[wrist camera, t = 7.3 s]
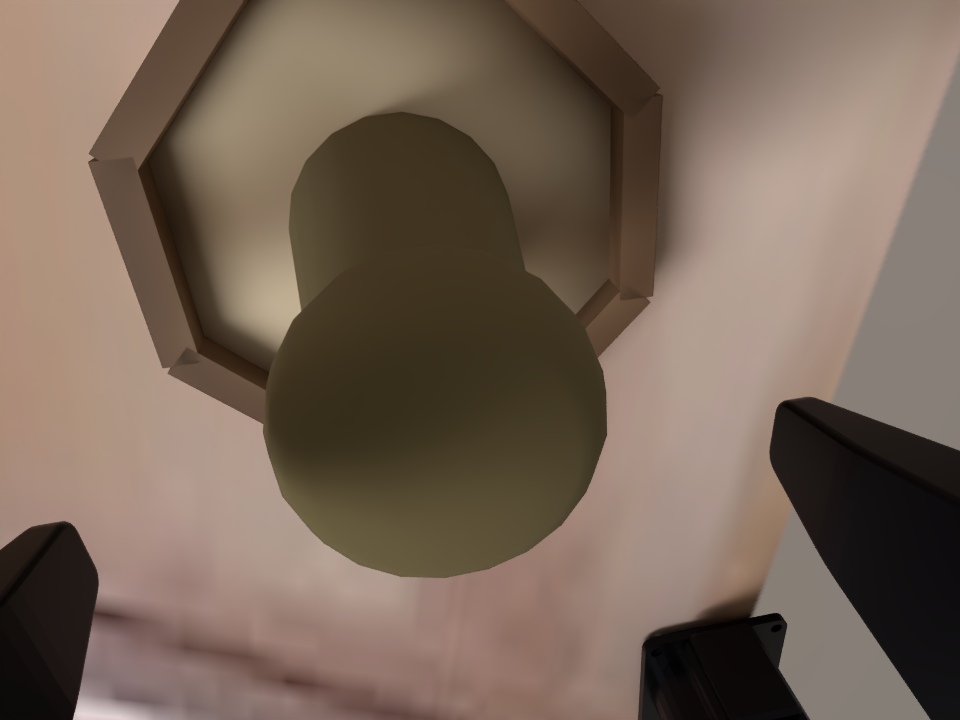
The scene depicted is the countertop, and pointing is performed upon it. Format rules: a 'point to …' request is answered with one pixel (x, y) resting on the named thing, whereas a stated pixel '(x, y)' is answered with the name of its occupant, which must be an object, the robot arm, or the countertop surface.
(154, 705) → the countertop surface
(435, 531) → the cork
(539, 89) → the tray
